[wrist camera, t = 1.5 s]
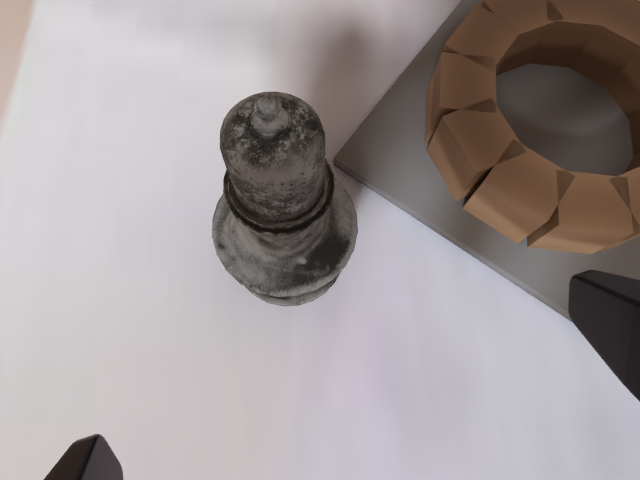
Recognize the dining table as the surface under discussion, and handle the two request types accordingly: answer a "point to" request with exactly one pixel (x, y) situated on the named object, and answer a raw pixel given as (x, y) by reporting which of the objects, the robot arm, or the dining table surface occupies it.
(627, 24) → the walnut collar
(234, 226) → the salt shaker
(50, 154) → the dining table surface
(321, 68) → the dining table surface
